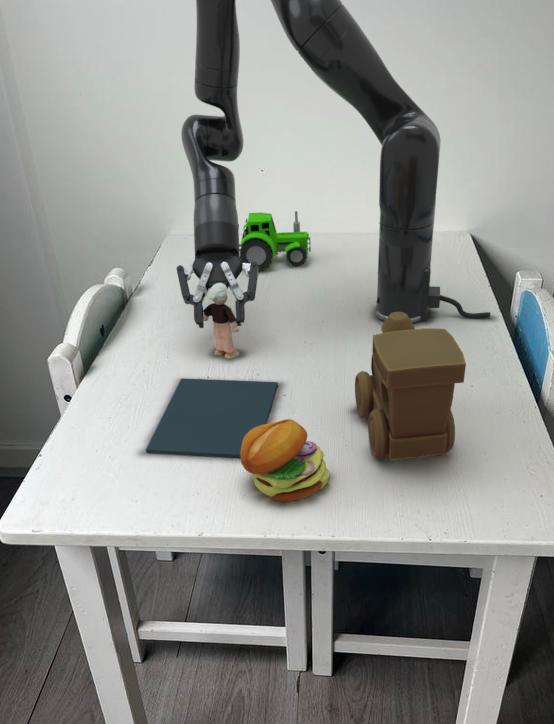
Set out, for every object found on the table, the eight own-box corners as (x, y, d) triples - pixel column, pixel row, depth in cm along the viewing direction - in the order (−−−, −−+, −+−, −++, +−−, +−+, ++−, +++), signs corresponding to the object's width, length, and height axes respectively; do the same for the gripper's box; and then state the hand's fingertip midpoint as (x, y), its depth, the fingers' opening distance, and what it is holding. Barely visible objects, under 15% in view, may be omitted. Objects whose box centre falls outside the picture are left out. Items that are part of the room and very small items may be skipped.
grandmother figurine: (249, 351, 128) (243, 282, 121) (238, 362, 126) (232, 291, 118) (210, 344, 131) (203, 275, 123) (199, 354, 129) (191, 284, 121)
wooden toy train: (460, 470, 100) (474, 361, 89) (376, 479, 99) (380, 370, 89) (422, 393, 115) (431, 292, 105) (350, 400, 115) (351, 300, 104)
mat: (277, 385, 119) (277, 381, 119) (255, 458, 104) (255, 455, 103) (181, 381, 122) (181, 378, 121) (146, 453, 106) (145, 449, 106)
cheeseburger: (325, 510, 94) (304, 447, 88) (248, 517, 98) (222, 458, 92) (336, 462, 102) (317, 401, 96) (264, 470, 105) (242, 412, 100)
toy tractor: (311, 270, 155) (310, 222, 149) (234, 273, 156) (229, 225, 150) (310, 250, 164) (309, 204, 158) (237, 253, 164) (233, 207, 158)
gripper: (170, 221, 122) (173, 320, 120) (257, 216, 122) (262, 315, 120) (177, 241, 129) (180, 335, 127) (259, 237, 129) (264, 330, 127)
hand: (220, 325), depth 123 cm, fingers closed on grandmother figurine, 5 cm apart
